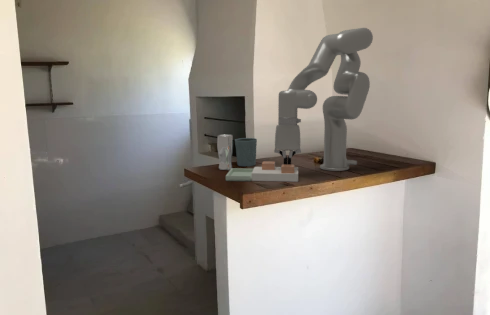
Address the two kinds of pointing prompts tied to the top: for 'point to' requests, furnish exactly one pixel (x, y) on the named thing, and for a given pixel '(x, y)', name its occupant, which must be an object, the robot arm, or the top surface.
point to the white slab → (273, 175)
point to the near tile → (287, 168)
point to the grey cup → (246, 151)
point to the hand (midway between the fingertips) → (287, 167)
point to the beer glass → (225, 151)
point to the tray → (239, 174)
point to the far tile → (268, 165)
